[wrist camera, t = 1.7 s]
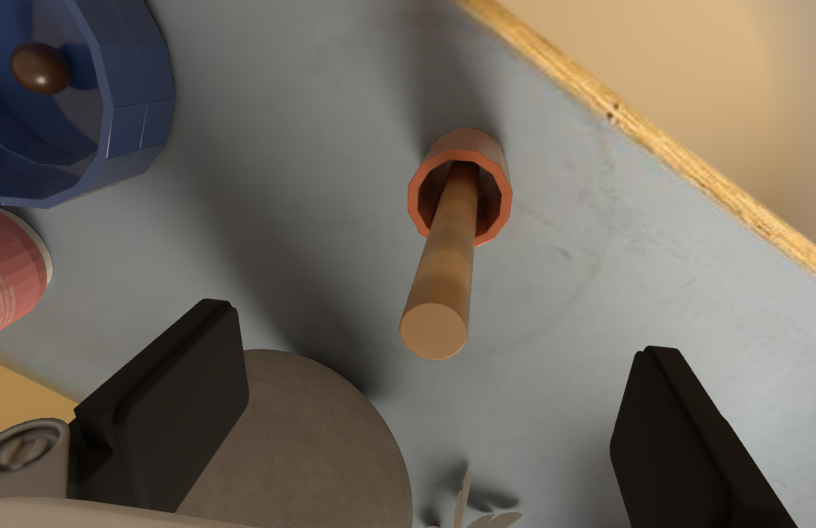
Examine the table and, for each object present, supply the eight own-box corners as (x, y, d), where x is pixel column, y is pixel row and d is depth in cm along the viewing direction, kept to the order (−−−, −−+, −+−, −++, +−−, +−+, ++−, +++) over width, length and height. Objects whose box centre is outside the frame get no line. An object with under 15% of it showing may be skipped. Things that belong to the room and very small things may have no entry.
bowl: (-80, -75, 28) (-217, -105, 22) (151, -76, 26) (62, -110, 20) (7, 175, 34) (-83, 198, 29) (197, 189, 32) (139, 217, 27)
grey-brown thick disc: (222, 340, 37) (5, 574, 21) (265, 283, 35) (52, 504, 18) (397, 466, 40) (332, 763, 23) (451, 423, 37) (420, 728, 21)
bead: (33, 40, 29) (-14, 39, 26) (76, 42, 29) (33, 41, 26) (48, 91, 30) (5, 95, 27) (89, 93, 30) (49, 97, 27)
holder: (426, 125, 28) (409, 147, 22) (510, 129, 27) (517, 153, 21) (423, 204, 30) (406, 245, 24) (501, 210, 29) (504, 253, 23)
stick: (451, 155, 28) (399, 298, 12) (481, 156, 28) (470, 305, 12) (449, 184, 29) (398, 356, 13) (478, 186, 28) (464, 364, 12)
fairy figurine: (397, 529, 42) (427, 556, 36) (437, 460, 45) (471, 474, 38) (447, 565, 43) (485, 598, 37) (483, 495, 46) (524, 515, 39)
